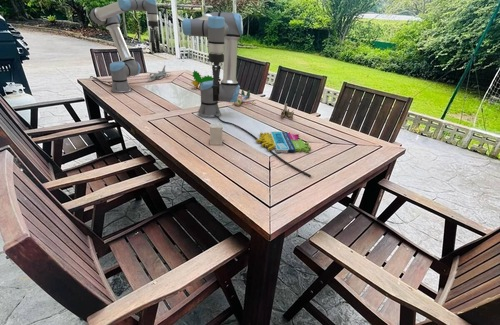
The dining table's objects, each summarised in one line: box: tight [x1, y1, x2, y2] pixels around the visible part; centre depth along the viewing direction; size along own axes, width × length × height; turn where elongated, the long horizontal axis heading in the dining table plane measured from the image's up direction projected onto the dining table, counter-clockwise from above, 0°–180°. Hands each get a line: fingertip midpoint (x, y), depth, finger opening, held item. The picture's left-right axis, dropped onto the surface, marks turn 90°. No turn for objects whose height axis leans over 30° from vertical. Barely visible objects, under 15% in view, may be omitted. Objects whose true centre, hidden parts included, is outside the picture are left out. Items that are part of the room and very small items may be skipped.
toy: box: [232, 89, 257, 106], centre depth 219 cm, size 28×7×30 cm
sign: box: [256, 131, 312, 154], centre depth 152 cm, size 26×2×30 cm
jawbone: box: [280, 103, 295, 120], centre depth 192 cm, size 9×15×10 cm
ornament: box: [191, 69, 213, 90], centre depth 248 cm, size 21×8×15 cm, turn 105°
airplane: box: [145, 65, 172, 83], centre depth 274 cm, size 38×31×10 cm
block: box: [209, 122, 224, 146], centre depth 145 cm, size 7×6×10 cm
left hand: (156, 50), depth 209 cm, fingers open, 13 cm apart
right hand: (216, 97), depth 135 cm, fingers open, 13 cm apart
